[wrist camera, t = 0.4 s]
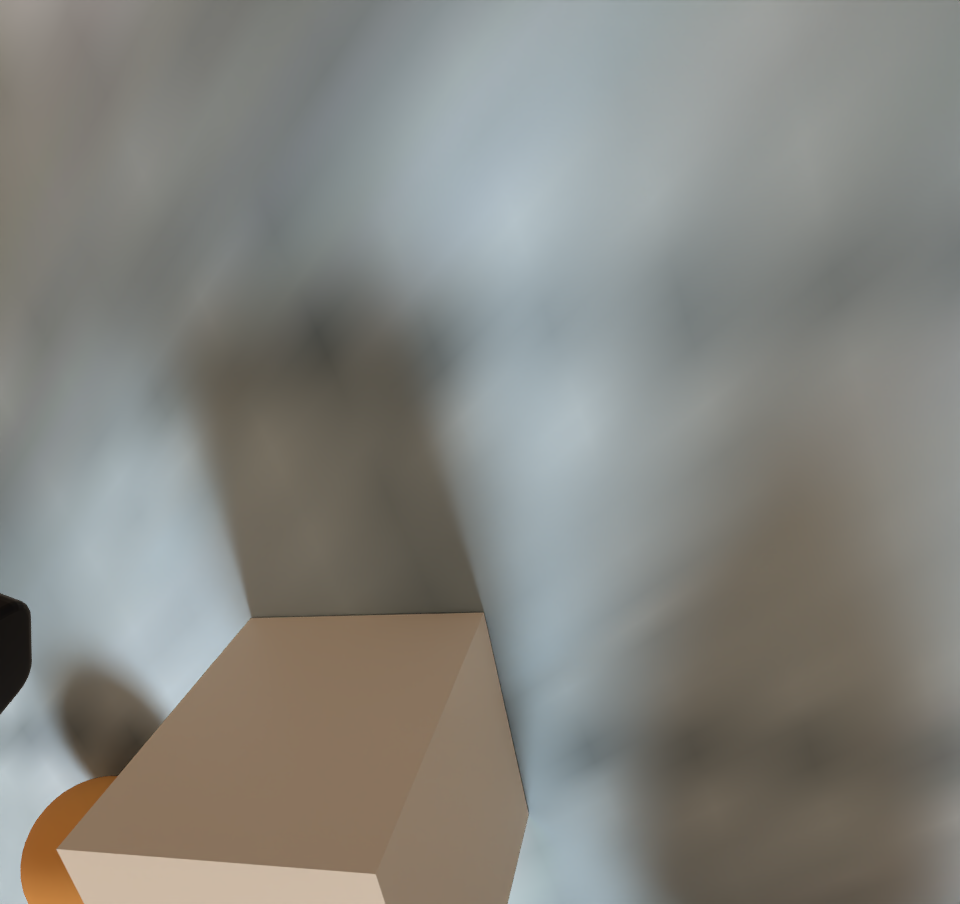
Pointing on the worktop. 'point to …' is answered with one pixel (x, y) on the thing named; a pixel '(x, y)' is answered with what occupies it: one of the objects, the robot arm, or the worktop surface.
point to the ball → (56, 844)
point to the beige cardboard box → (319, 775)
